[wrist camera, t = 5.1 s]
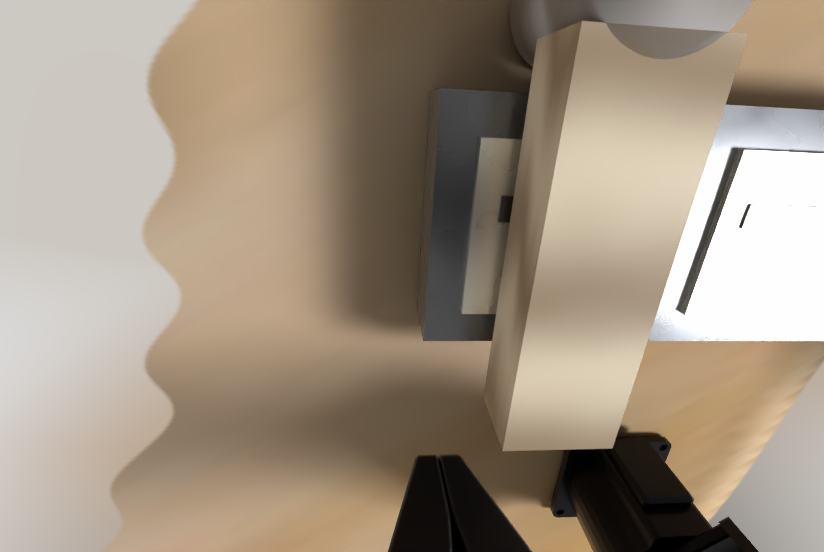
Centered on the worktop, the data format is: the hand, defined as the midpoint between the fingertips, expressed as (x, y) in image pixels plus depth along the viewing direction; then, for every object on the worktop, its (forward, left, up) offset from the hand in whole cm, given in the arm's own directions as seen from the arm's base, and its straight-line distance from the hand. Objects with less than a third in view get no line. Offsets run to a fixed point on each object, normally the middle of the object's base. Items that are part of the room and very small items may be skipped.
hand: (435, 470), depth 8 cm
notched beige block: (+3, -6, -12) cm, 14 cm away
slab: (+2, -11, -12) cm, 17 cm away
